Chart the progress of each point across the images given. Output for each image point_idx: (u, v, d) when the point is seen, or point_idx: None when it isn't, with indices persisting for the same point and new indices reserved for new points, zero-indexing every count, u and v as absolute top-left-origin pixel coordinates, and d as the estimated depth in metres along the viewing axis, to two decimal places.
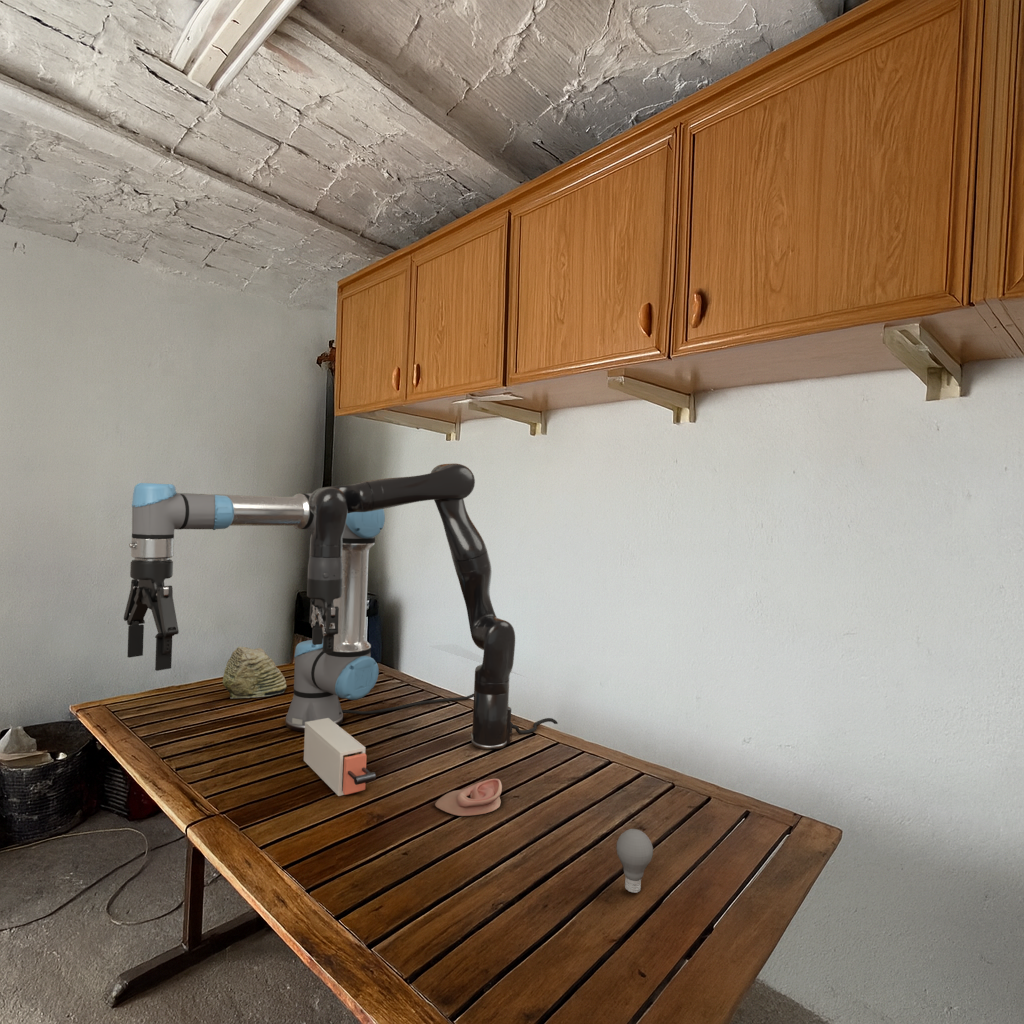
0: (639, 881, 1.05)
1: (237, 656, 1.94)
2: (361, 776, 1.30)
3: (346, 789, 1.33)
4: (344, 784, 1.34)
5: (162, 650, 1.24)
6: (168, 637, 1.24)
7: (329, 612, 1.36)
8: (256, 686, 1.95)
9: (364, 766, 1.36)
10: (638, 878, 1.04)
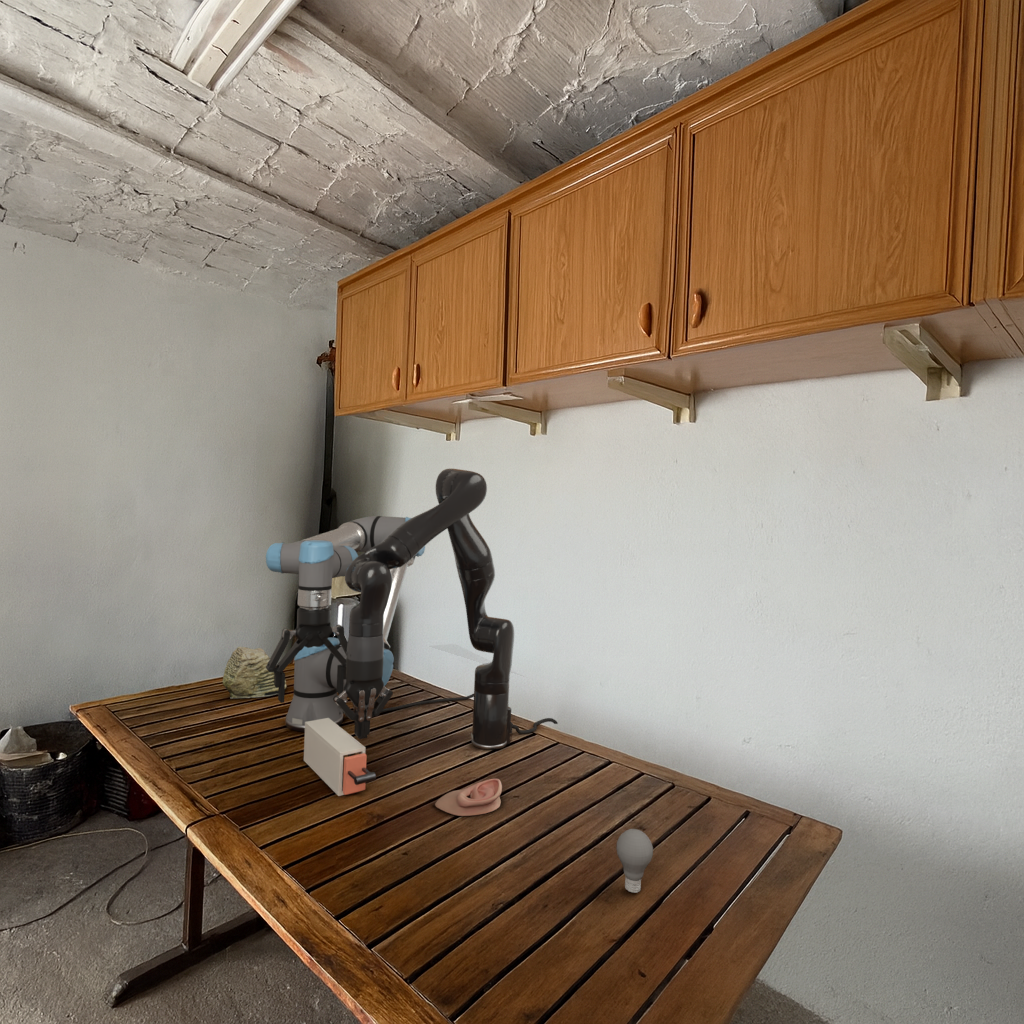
0: (639, 881, 1.05)
1: (237, 656, 1.94)
2: (361, 776, 1.30)
3: (346, 789, 1.33)
4: (344, 784, 1.34)
5: (345, 676, 1.52)
6: None
7: (335, 702, 1.30)
8: (256, 686, 1.95)
9: (364, 766, 1.36)
10: (638, 878, 1.04)
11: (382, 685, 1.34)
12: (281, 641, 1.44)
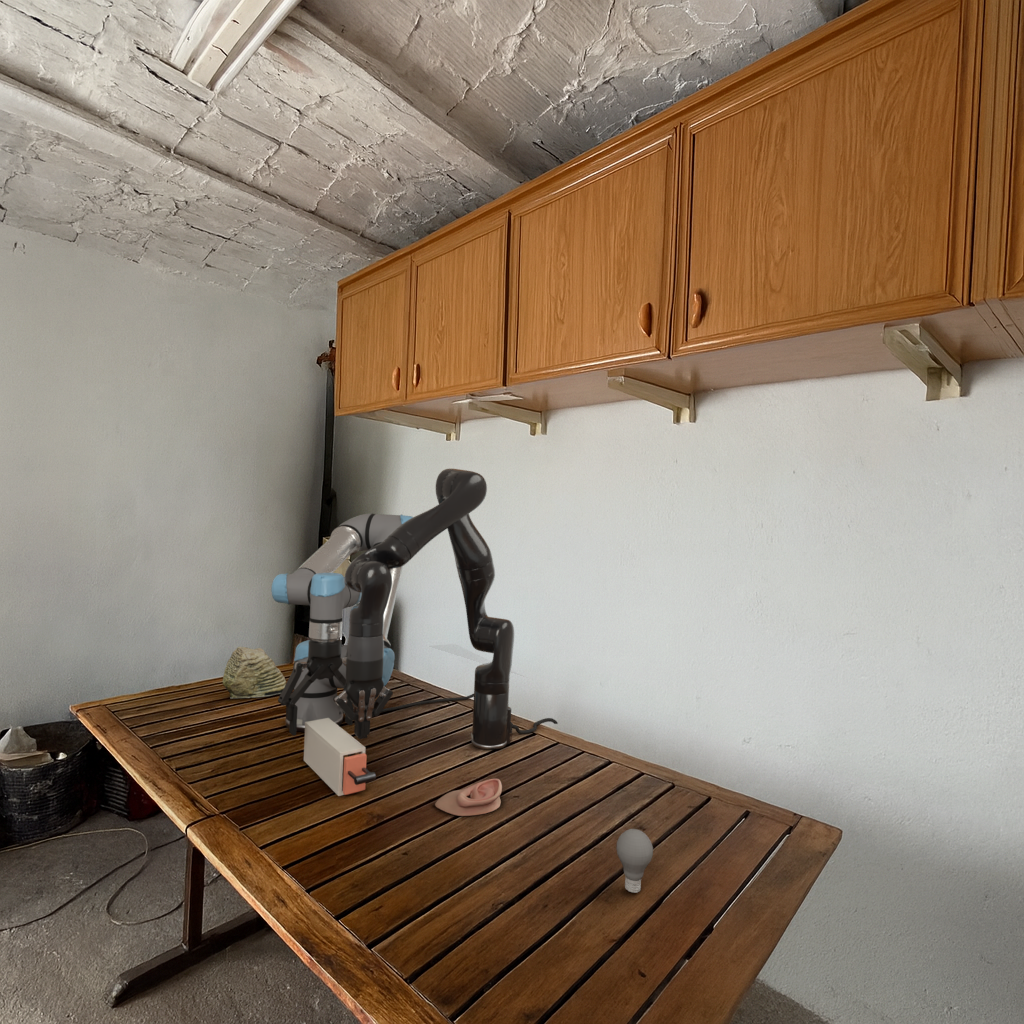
0: (639, 881, 1.05)
1: (237, 656, 1.94)
2: (361, 776, 1.30)
3: (346, 789, 1.33)
4: (344, 784, 1.34)
5: None
6: None
7: (335, 702, 1.30)
8: (256, 686, 1.95)
9: (364, 766, 1.36)
10: (638, 878, 1.04)
11: (382, 685, 1.34)
12: (293, 674, 1.45)
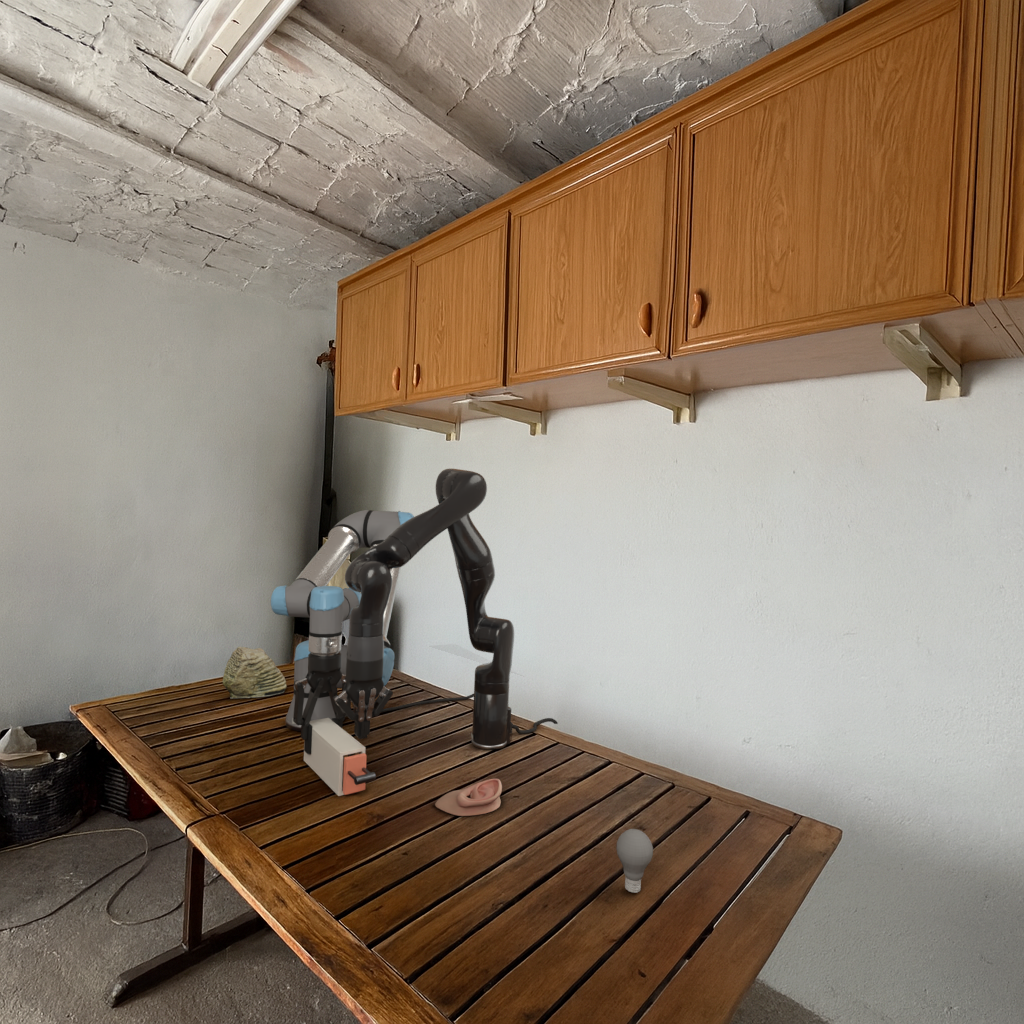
0: (639, 881, 1.05)
1: (237, 656, 1.94)
2: (361, 776, 1.30)
3: (346, 789, 1.33)
4: (344, 784, 1.34)
5: None
6: None
7: (335, 702, 1.30)
8: (256, 686, 1.95)
9: (364, 766, 1.36)
10: (638, 878, 1.04)
11: (382, 685, 1.34)
12: (297, 694, 1.46)
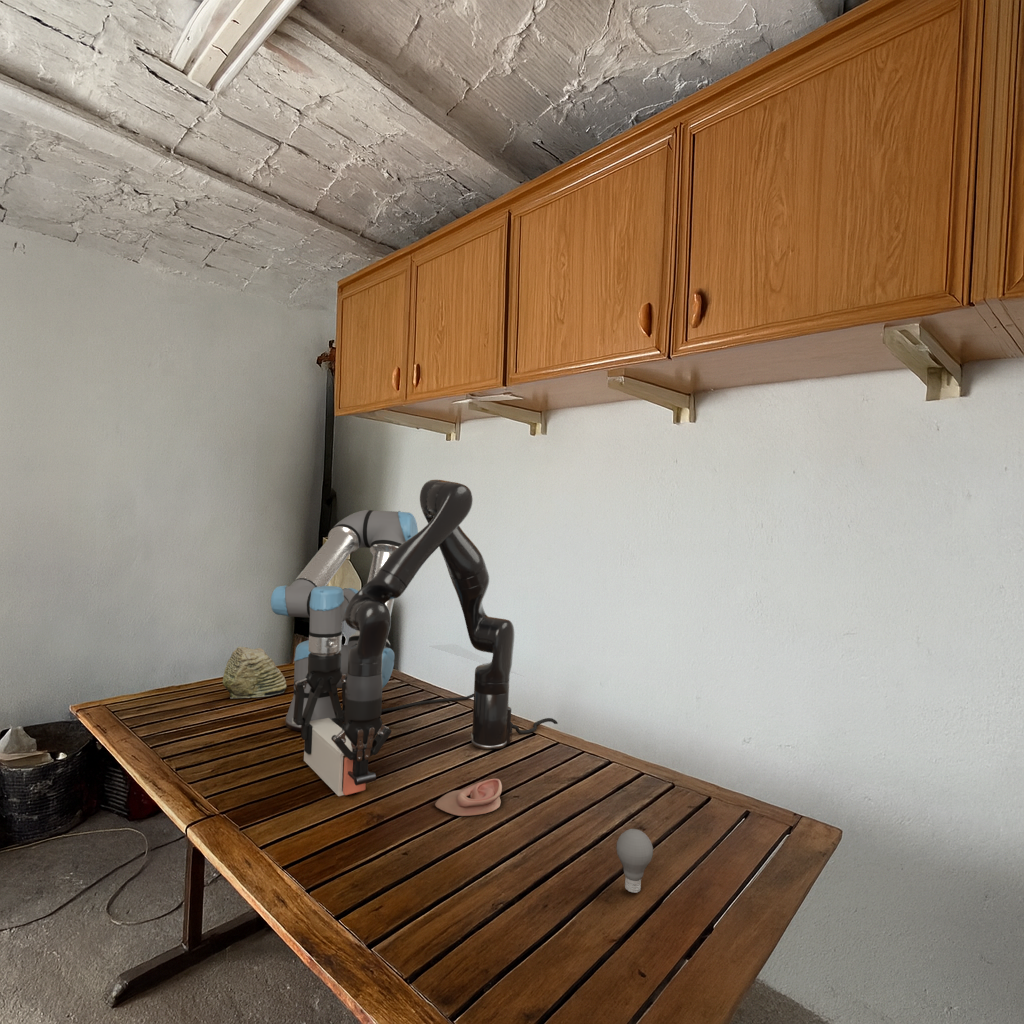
0: (639, 881, 1.05)
1: (237, 656, 1.94)
2: (361, 776, 1.30)
3: (346, 789, 1.33)
4: (344, 784, 1.33)
5: None
6: None
7: (334, 742, 1.29)
8: (256, 686, 1.95)
9: None
10: (638, 878, 1.04)
11: (380, 724, 1.34)
12: (297, 694, 1.46)
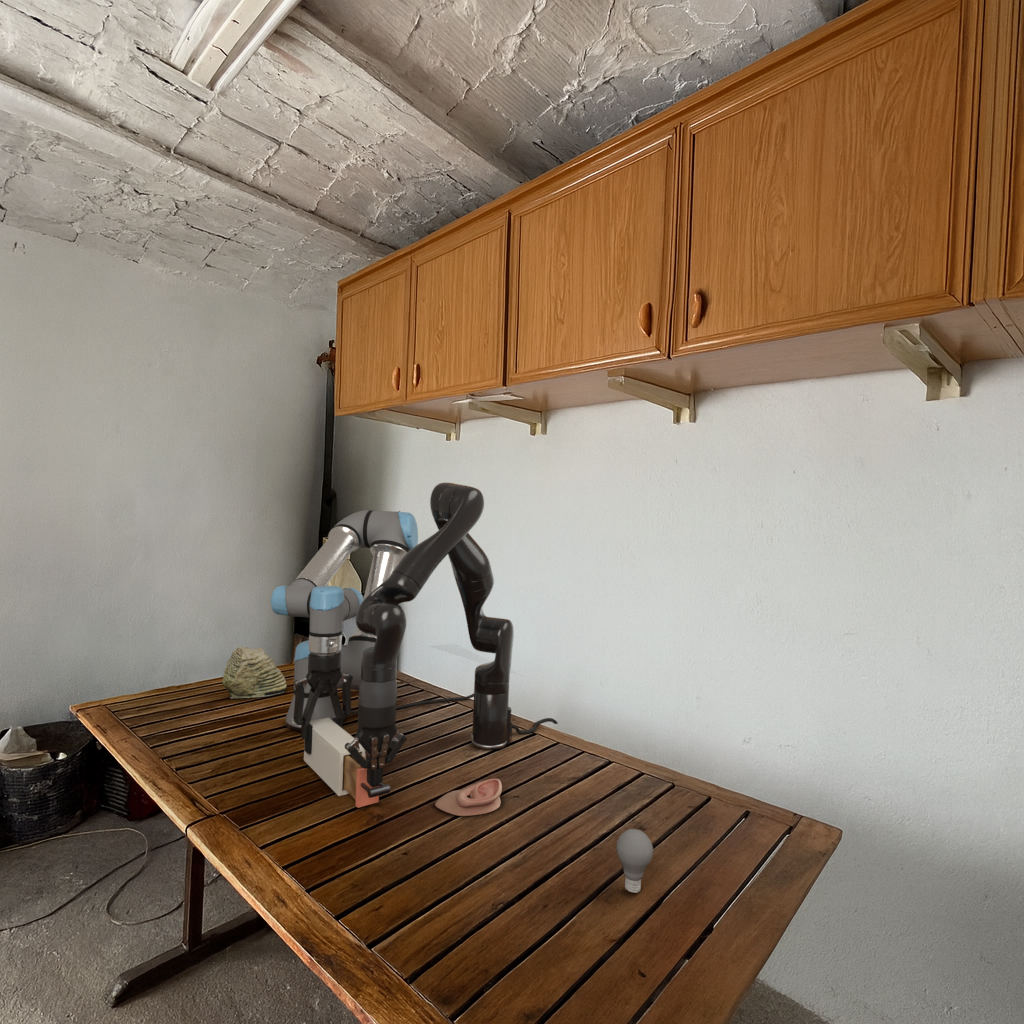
0: (639, 881, 1.05)
1: (237, 656, 1.94)
2: (375, 789, 1.25)
3: (359, 801, 1.28)
4: (357, 796, 1.28)
5: None
6: None
7: (347, 750, 1.25)
8: (256, 686, 1.95)
9: None
10: (638, 878, 1.04)
11: (395, 730, 1.29)
12: (297, 694, 1.46)
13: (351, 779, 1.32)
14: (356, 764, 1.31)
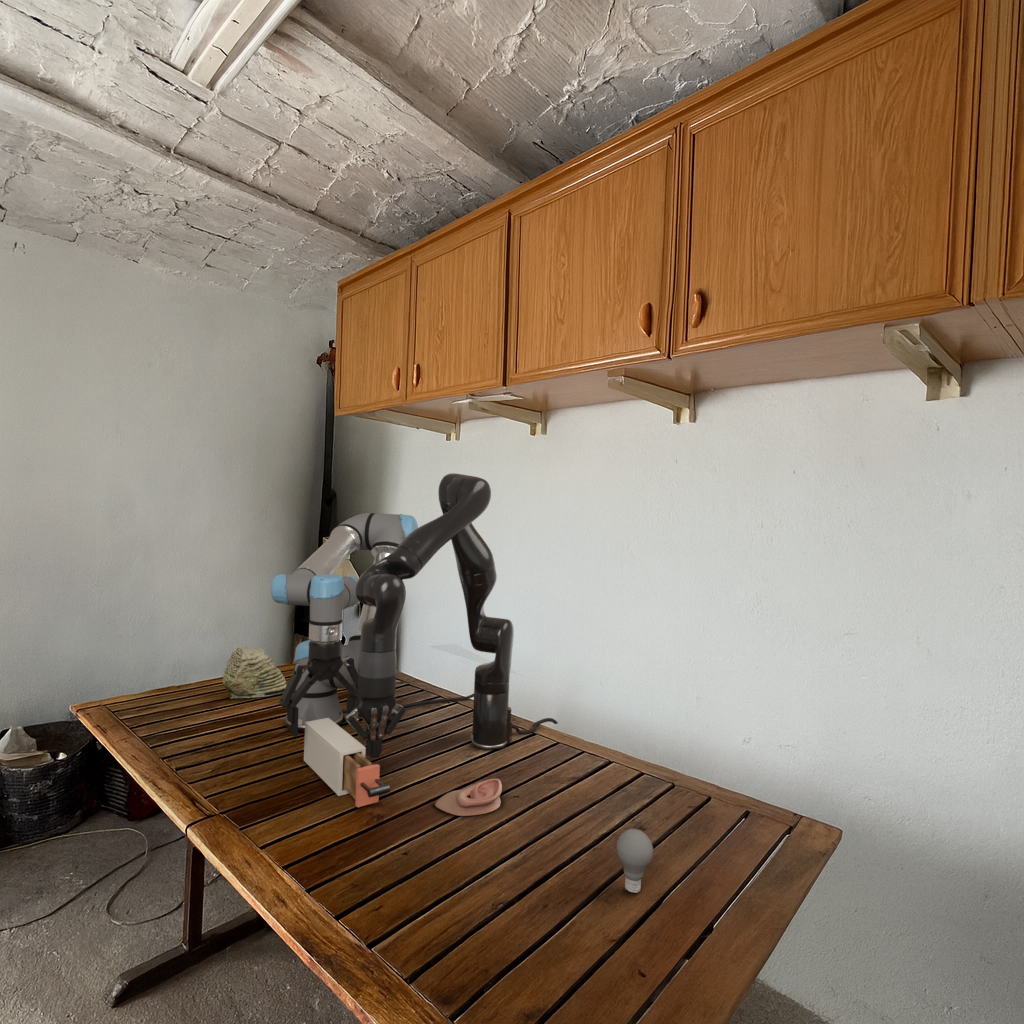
0: (639, 881, 1.05)
1: (237, 656, 1.94)
2: (375, 788, 1.25)
3: (359, 801, 1.28)
4: (357, 796, 1.28)
5: None
6: None
7: (347, 721, 1.25)
8: (256, 686, 1.95)
9: (377, 777, 1.31)
10: (638, 878, 1.04)
11: (394, 702, 1.29)
12: (294, 676, 1.46)
13: (351, 779, 1.32)
14: (356, 764, 1.31)
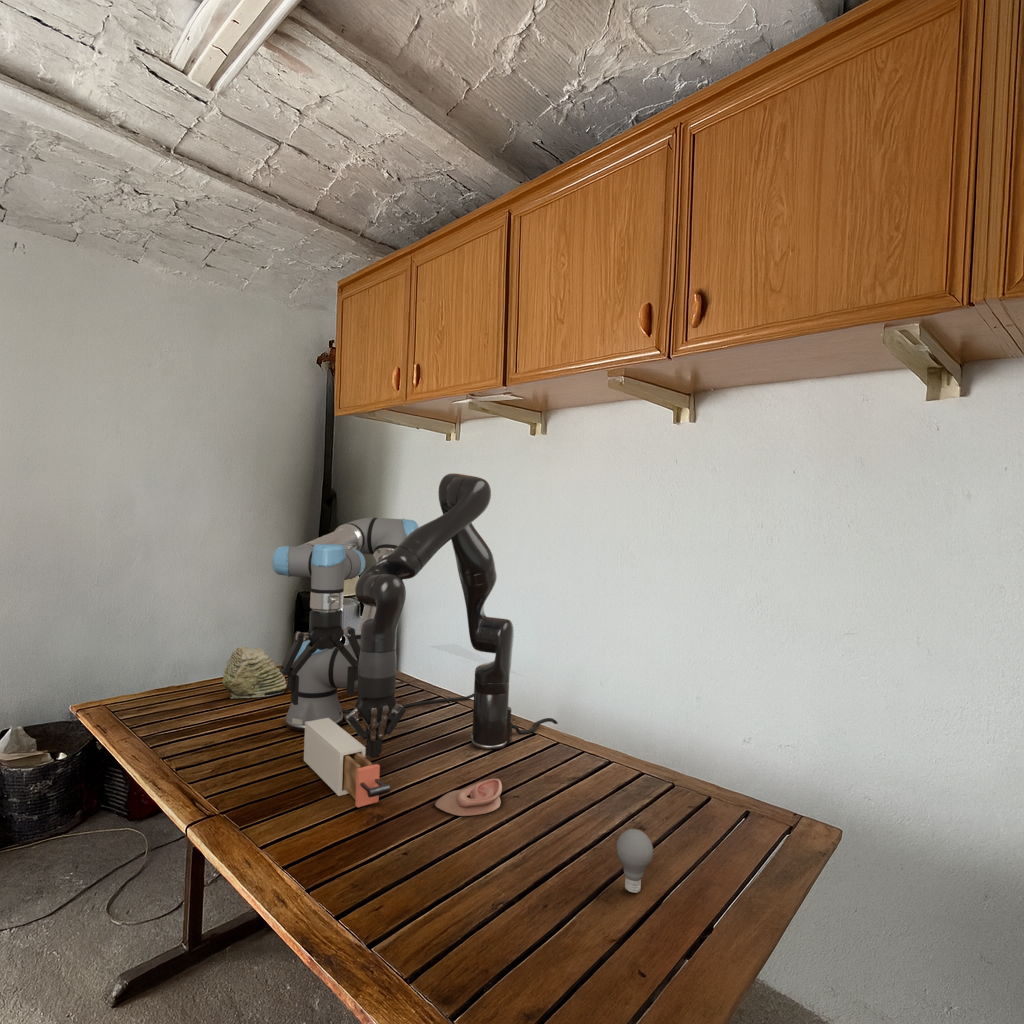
0: (639, 881, 1.05)
1: (237, 656, 1.94)
2: (375, 788, 1.25)
3: (359, 801, 1.28)
4: (357, 796, 1.28)
5: (355, 678, 1.54)
6: None
7: (347, 721, 1.25)
8: (256, 686, 1.95)
9: (377, 777, 1.31)
10: (638, 878, 1.04)
11: (394, 702, 1.29)
12: (295, 644, 1.45)
13: (351, 779, 1.32)
14: (356, 764, 1.31)
